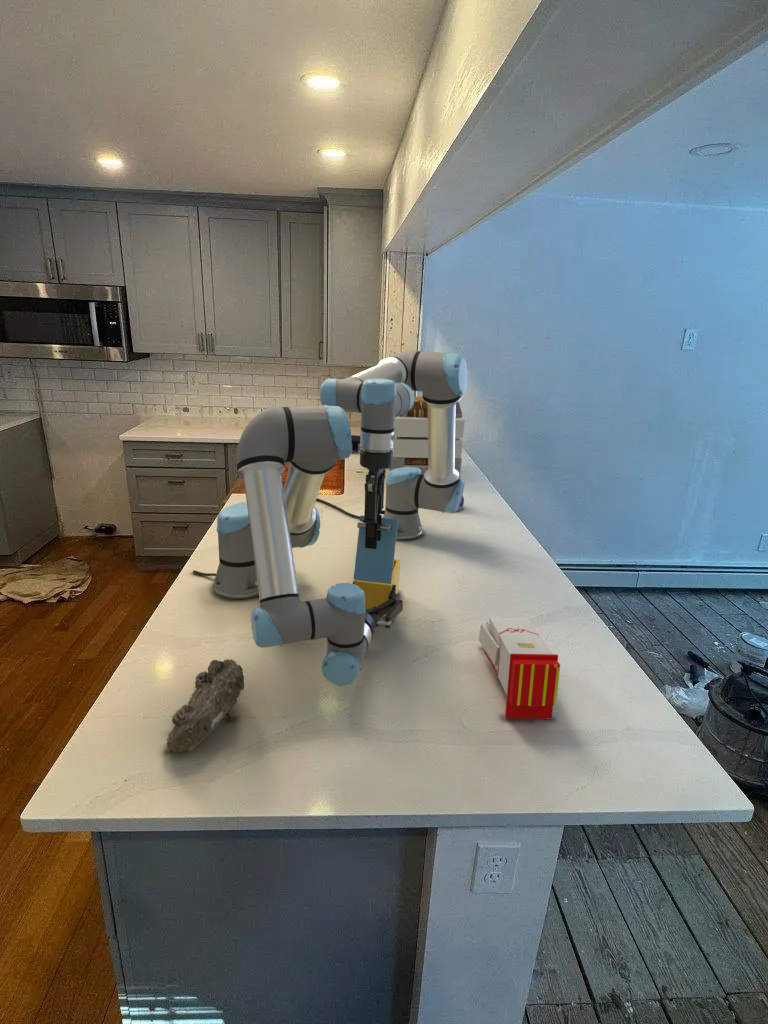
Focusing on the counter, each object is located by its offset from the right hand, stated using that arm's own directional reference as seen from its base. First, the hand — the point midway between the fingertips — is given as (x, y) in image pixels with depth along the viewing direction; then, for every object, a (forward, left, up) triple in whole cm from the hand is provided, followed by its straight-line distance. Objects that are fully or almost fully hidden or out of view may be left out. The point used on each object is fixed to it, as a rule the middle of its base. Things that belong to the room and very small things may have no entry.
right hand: (372, 543), depth 136 cm
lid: (-3, +4, -4) cm, 6 cm away
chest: (-6, +7, -21) cm, 23 cm away
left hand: (-3, +4, -14) cm, 15 cm away
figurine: (-47, +82, -21) cm, 97 cm away
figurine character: (-143, +107, -21) cm, 180 cm away
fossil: (+9, -46, -21) cm, 52 cm away
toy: (+37, +10, -21) cm, 44 cm away
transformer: (-92, +107, -21) cm, 142 cm away
